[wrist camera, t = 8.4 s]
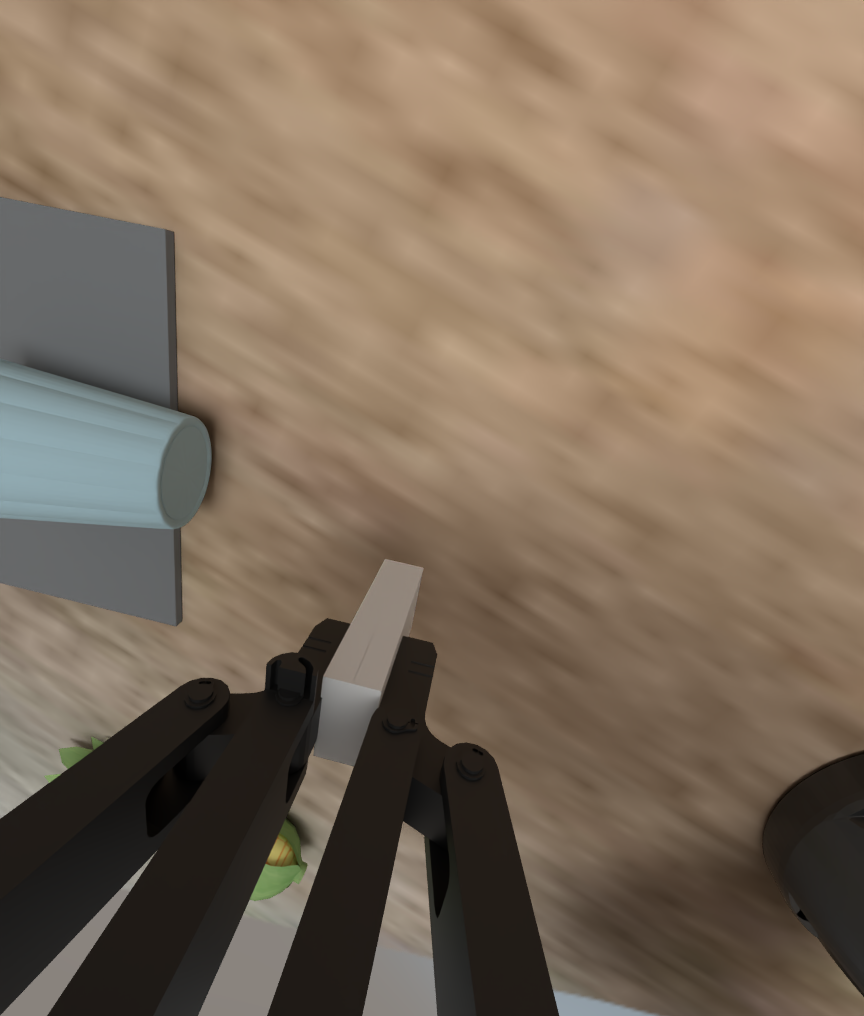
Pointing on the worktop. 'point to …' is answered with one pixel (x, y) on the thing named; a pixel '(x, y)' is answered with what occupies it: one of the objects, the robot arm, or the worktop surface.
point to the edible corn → (280, 863)
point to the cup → (96, 454)
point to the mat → (97, 362)
